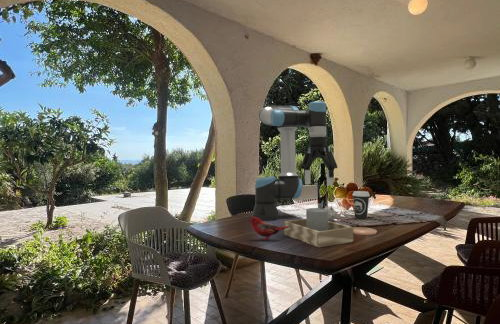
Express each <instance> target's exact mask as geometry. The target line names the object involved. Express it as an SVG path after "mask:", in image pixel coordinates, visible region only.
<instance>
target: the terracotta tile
mask: <svg viewBox="0 0 500 324" xmlns="http://www.w3.org/2000/svg"><path fill="white" fill-rule="evenodd" d="M377 234H378V230H377V229H375V228H371V227H364V226H357V227H353V235H361V236H374V235H377Z"/></svg>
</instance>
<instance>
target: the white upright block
mask: <svg viewBox="0 0 500 324" xmlns="http://www.w3.org/2000/svg"><path fill="white" fill-rule="evenodd" d="M305 211H306V212H305V215H306V218H305V219H306V227H307V228H310V229H313V230H316V231H326V230H328V221H329V220H328V210H327V209H324V208H319V207H314V208H313V207H312V208H307V209H305Z"/></svg>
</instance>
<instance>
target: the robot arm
mask: <svg viewBox="0 0 500 324" xmlns="http://www.w3.org/2000/svg"><path fill="white" fill-rule="evenodd" d="M258 117H259V121H260V122H261V123H262V124H263V125H264V124H265V125H267V126H271V127H272V126H274V127H276V126H277V127H276V128H277V130H278V132H279V135H280V136H279V137H280V138H279V139H280V140H279V141H280V145H279V146H280V147H279V148H280V174H278V178H276V176H272V175H271V176H263V177H259V178H257V179H255V185H254V188H255V190H254V191H255V193H254V194H255V195H254V196H255V199H254V200H255V201H254V202H255V204H254V207H253V212H252V214H251V215H252V217H257V218H259V219H260V220H262V221H273V220H278V219H279V217H280V215H279V210H278V208H277V205H276V203H277V201H276V200H295V199H299V198H300V197H301V194H302V192H303V180H302V179H301V178H300V176H299V174H298V173H297V167H296V166H297V164H296V163H297V162H296V131H297V130H298V127H302V128H308V131H309V132H308V134H309V135H308V136H309V138H308V139H309V142H308V143H309V144H308V145H309V146H310V148H305V152H304V156H303V159H302V162H301V165H300V169H301V170H303V171H304V173H303V174H304V175H303V176H304V185H311V175H312V174H311V167H312V164H314V161H315V160H316V159H321V160H322V162H323V163H324V165H325V166H326V168H327V169H326V186H333V183H334V179H333V178H334V175H335V174H334V172H335V171H334V170H335V169H338V164H337V162H336V160H335V156H334V154H333V152H332V146H327V137H326V136H327V105H326V102H324V101H310V102H309V104H308V108H307V110H306V109H299V108H298V107H297V106H295V105H267V106H265V107H262V108H261V110H260V111H259V114H258ZM252 217H251V218H252Z"/></svg>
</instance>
